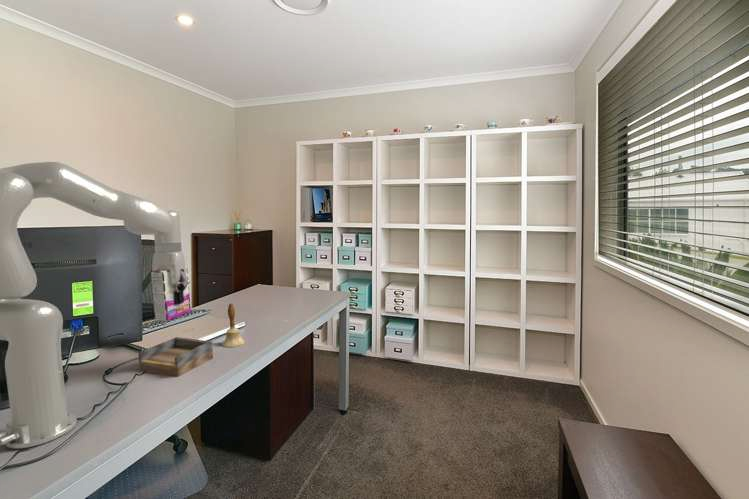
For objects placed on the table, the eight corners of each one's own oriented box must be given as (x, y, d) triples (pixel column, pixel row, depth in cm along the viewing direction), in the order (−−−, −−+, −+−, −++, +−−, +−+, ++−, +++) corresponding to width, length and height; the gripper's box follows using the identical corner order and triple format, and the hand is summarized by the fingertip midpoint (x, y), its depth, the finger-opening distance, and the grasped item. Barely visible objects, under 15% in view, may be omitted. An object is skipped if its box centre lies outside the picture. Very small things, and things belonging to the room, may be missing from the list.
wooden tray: (178, 376, 115) (177, 358, 114) (139, 370, 120) (138, 352, 119) (213, 358, 129) (212, 341, 128) (177, 353, 134) (176, 337, 133)
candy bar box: (178, 311, 128) (175, 265, 126) (191, 312, 127) (188, 265, 125) (153, 321, 117) (149, 270, 115) (167, 322, 116) (163, 271, 114)
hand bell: (237, 348, 138) (235, 306, 136) (217, 347, 139) (215, 306, 138) (248, 340, 146) (246, 301, 145) (229, 339, 148) (227, 300, 146)
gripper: (138, 249, 119) (142, 303, 120) (179, 250, 113) (183, 307, 115) (158, 246, 126) (162, 298, 128) (198, 248, 120) (201, 301, 122)
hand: (172, 302), depth 121 cm, fingers closed on candy bar box, 5 cm apart
